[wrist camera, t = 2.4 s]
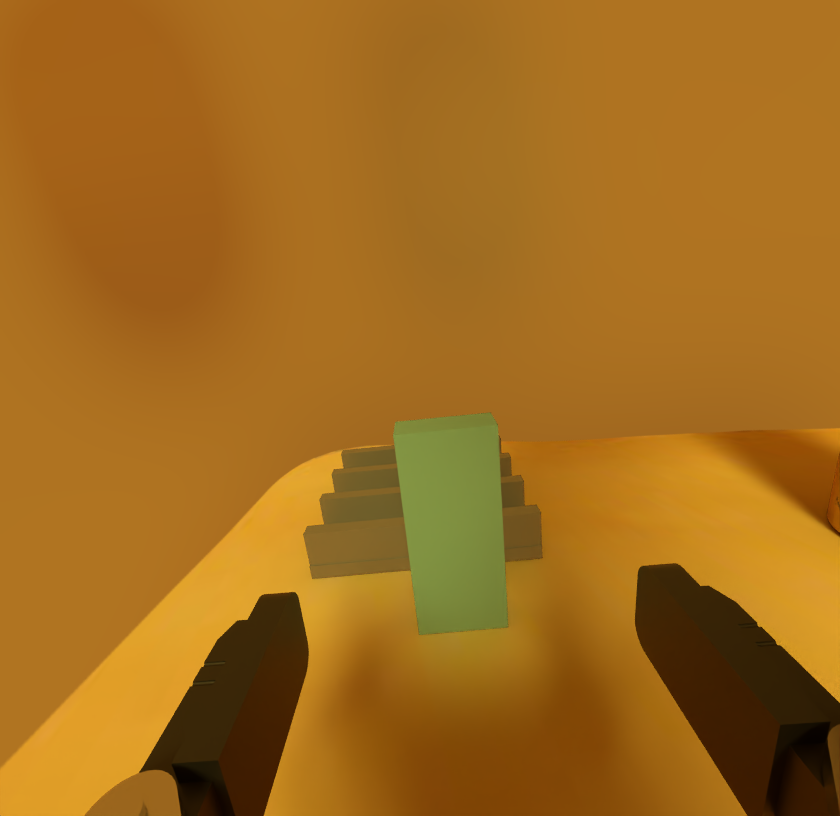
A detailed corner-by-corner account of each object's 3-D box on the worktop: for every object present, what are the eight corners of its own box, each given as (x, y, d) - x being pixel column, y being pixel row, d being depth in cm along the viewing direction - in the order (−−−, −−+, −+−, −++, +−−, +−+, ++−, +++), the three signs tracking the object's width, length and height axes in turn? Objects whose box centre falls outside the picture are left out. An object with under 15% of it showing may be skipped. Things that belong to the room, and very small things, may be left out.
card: (501, 600, 24) (490, 412, 21) (508, 627, 23) (497, 424, 19) (419, 607, 25) (395, 421, 21) (419, 634, 23) (393, 435, 19)
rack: (500, 466, 42) (498, 434, 41) (542, 558, 28) (541, 513, 27) (348, 480, 43) (343, 449, 42) (312, 578, 28) (302, 535, 27)
